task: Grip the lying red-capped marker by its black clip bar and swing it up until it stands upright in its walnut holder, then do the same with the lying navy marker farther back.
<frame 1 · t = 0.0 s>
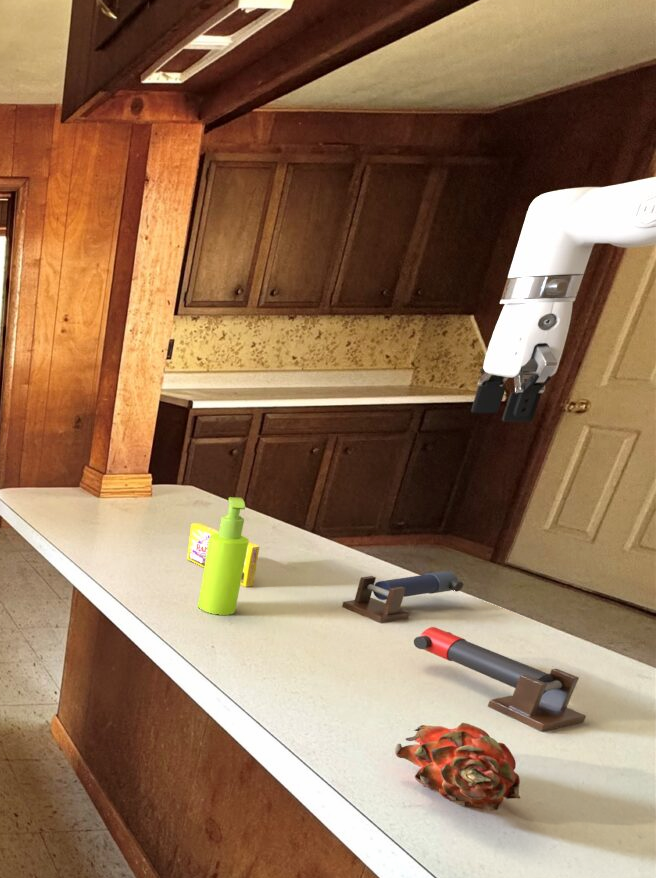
hand: (499, 417, 98), 33 cm above the countertop, tool pointing down, fingers open, 9 cm apart
holder a: (534, 714, 84), on the countertop
soap dispenser: (216, 610, 116), on the countertop
navy marker: (413, 585, 113), point 4 cm above the countertop, hinge at 0.0°
red marker: (484, 661, 89), point 4 cm above the countertop, hinge at 0.0°
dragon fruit: (445, 791, 72), on the countertop
holder b: (374, 612, 113), on the countertop
candy box: (217, 573, 133), on the countertop
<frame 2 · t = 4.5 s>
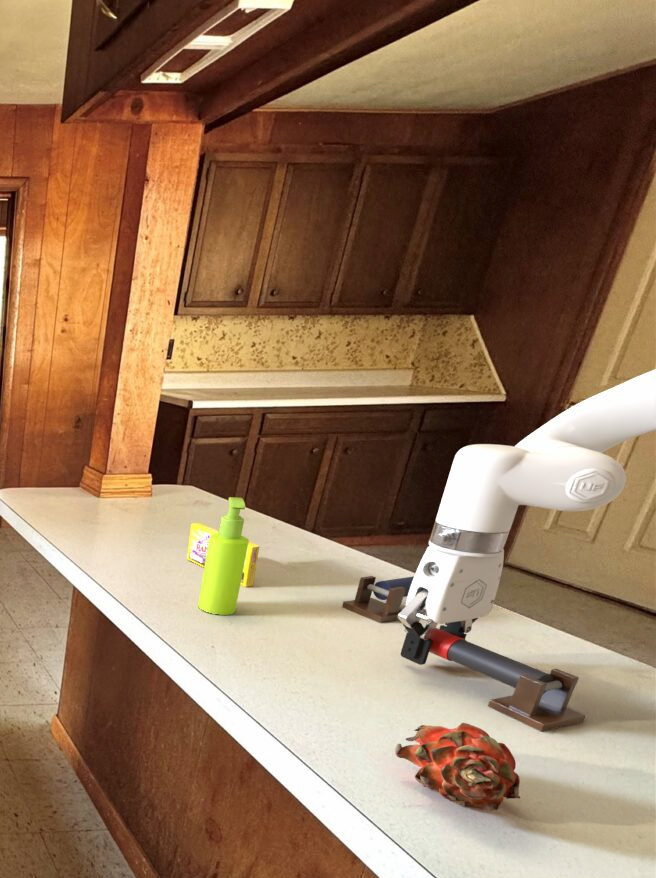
hand: (429, 656, 96), 1 cm above the countertop, tool pointing down, fingers closed on red marker, 5 cm apart
red marker: (484, 661, 89), point 4 cm above the countertop, hinge at 0.0°, touching gripper
everything else where it was.
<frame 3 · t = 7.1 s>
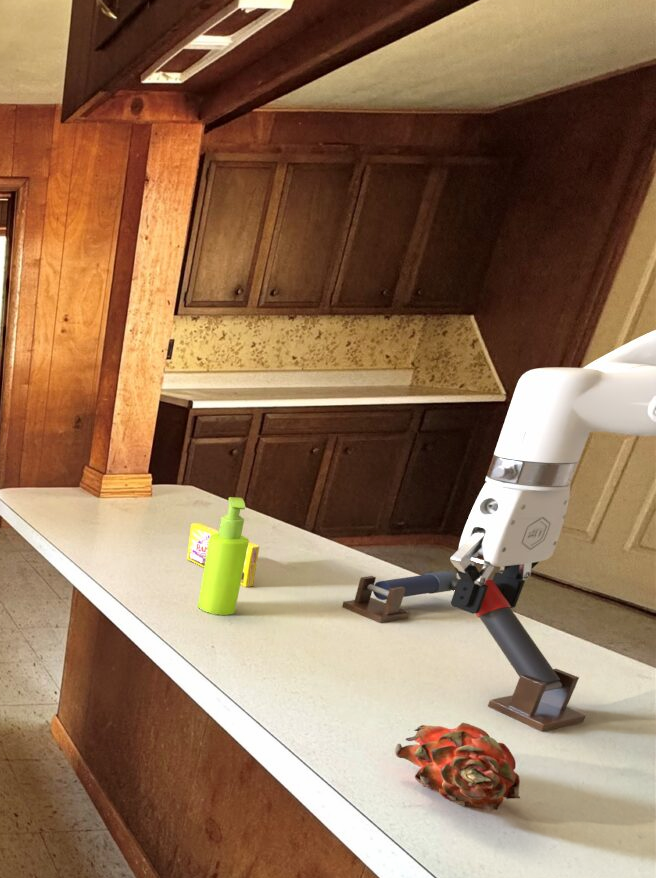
hand: (482, 605, 88), 11 cm above the countertop, tool pointing down, fingers closed on red marker, 5 cm apart
red marker: (510, 636, 85), point 9 cm above the countertop, hinge at 41.8°, touching gripper
everything else where it was.
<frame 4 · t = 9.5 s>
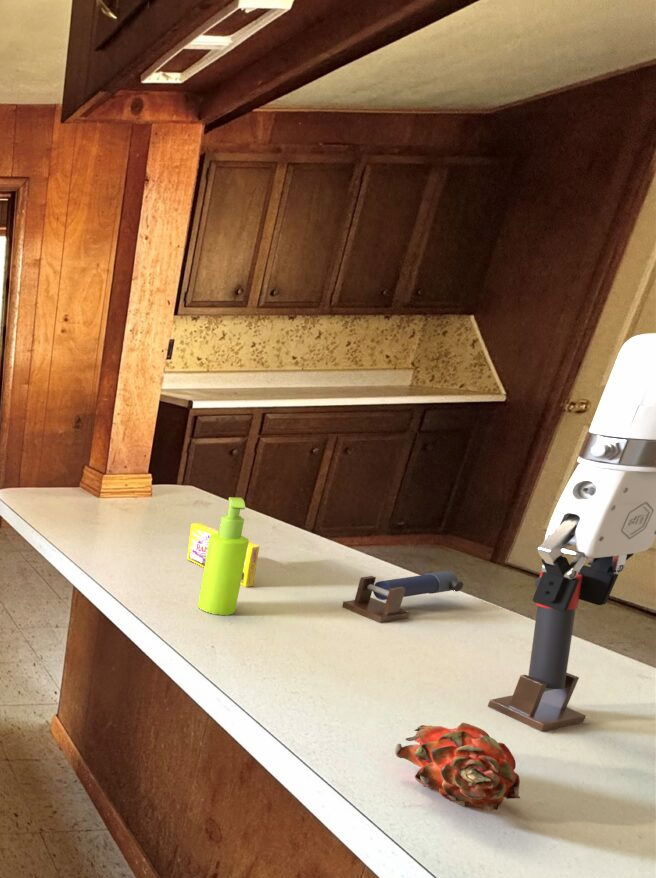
hand: (568, 602, 79), 15 cm above the countertop, tool pointing down, fingers closed on red marker, 5 cm apart
red marker: (552, 633, 81), point 11 cm above the countertop, hinge at 79.5°, touching gripper
everything else where it was.
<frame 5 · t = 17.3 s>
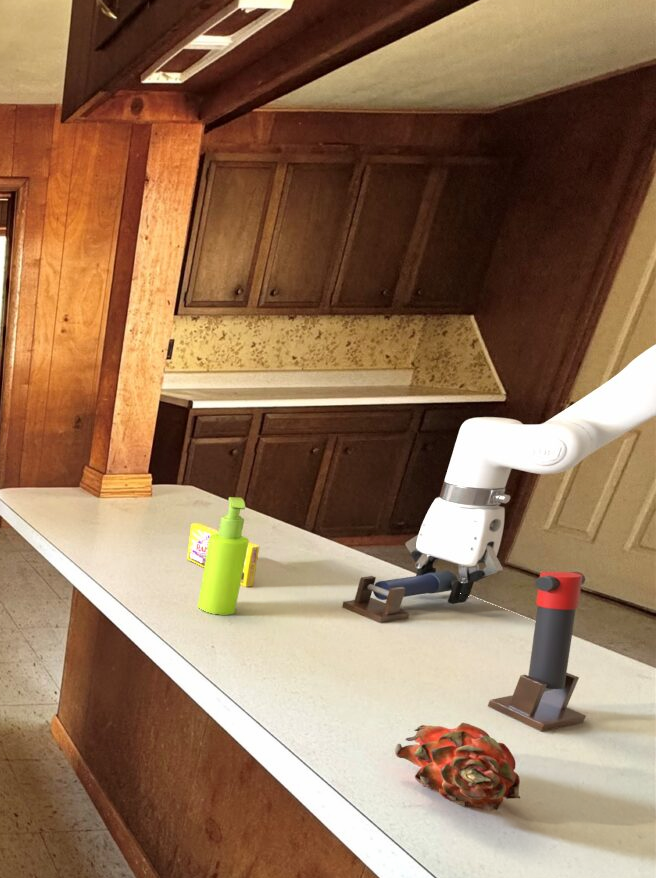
hand: (438, 595, 115), 1 cm above the countertop, tool pointing down, fingers closed on navy marker, 5 cm apart
navy marker: (413, 586, 113), point 4 cm above the countertop, hinge at 0.0°, touching gripper
red marker: (552, 633, 81), point 11 cm above the countertop, hinge at 79.6°
everything else where it was.
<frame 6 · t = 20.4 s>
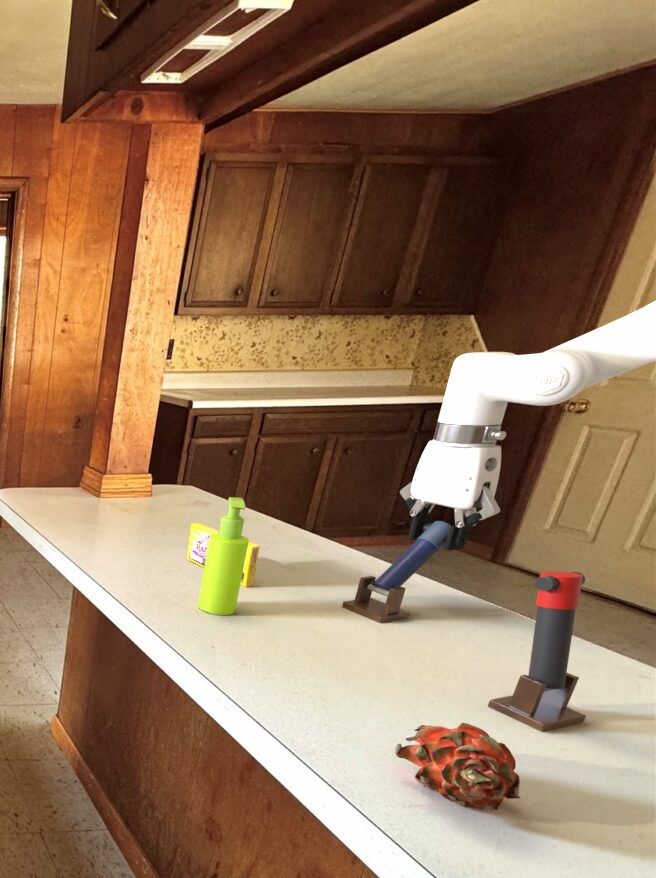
hand: (435, 542, 111), 12 cm above the countertop, tool pointing down, fingers closed on navy marker, 5 cm apart
navy marker: (411, 560, 111), point 9 cm above the countertop, hinge at 44.5°, touching gripper
everything else where it was.
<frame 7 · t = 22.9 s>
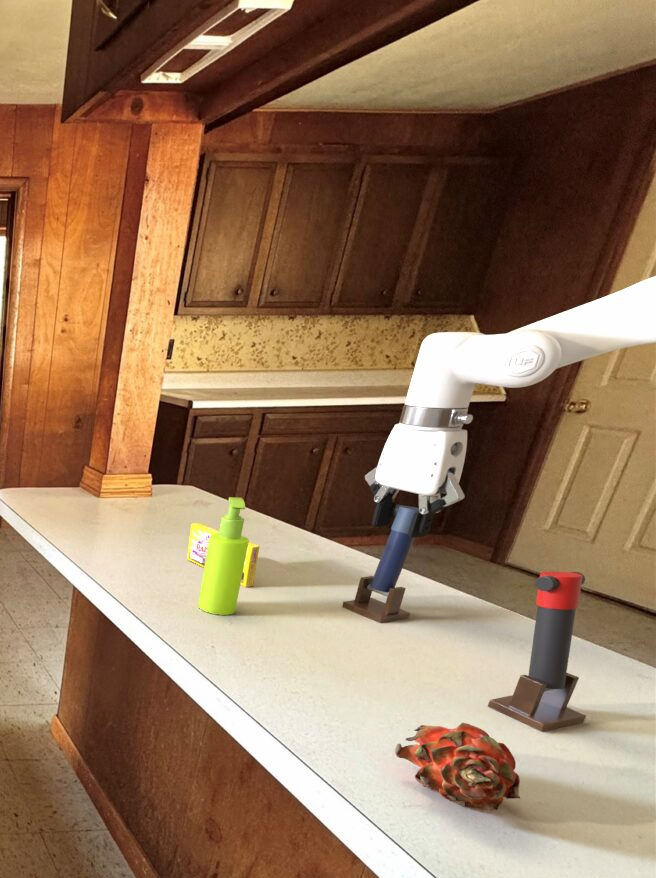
hand: (398, 529, 108), 15 cm above the countertop, tool pointing down, fingers open, 5 cm apart
navy marker: (395, 551, 109), point 11 cm above the countertop, hinge at 82.0°
everything else where it was.
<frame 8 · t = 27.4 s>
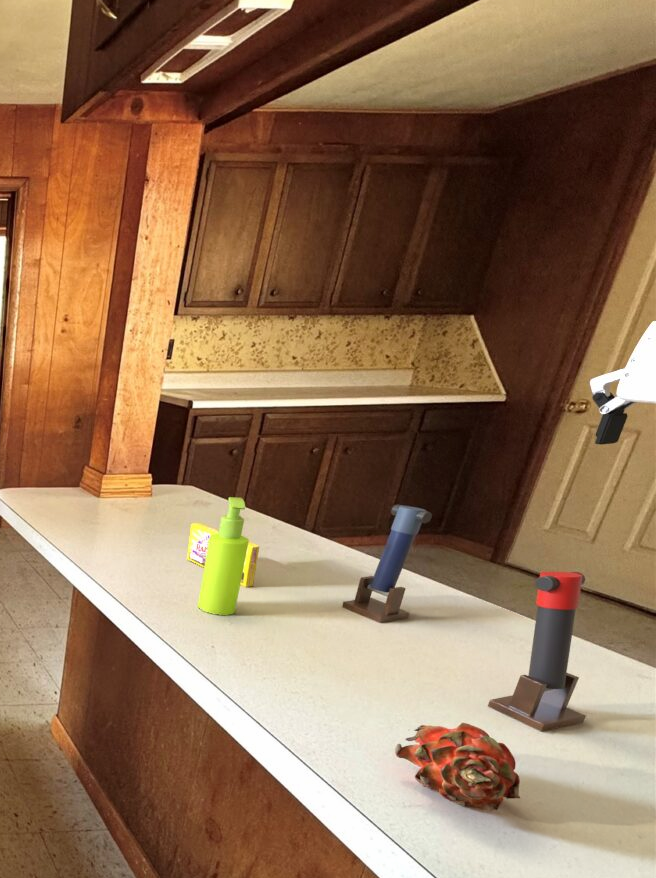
hand: (652, 449, 86), 30 cm above the countertop, tool pointing down, fingers open, 9 cm apart
nothing on the countertop moved.
at the end: red marker at +80° (first picture: +0°); navy marker at +82° (first picture: +0°) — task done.
